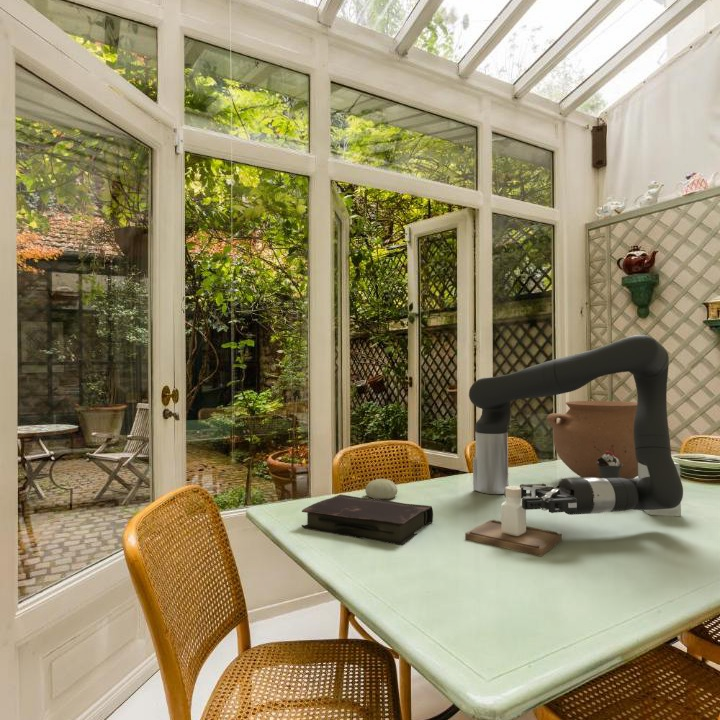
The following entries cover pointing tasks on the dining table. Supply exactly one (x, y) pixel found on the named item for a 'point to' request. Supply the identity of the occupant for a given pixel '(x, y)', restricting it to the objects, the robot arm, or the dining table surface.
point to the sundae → (609, 465)
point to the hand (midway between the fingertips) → (513, 498)
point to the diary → (368, 518)
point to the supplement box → (666, 512)
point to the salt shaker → (513, 512)
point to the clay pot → (596, 436)
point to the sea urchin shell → (381, 489)
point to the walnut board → (515, 538)
